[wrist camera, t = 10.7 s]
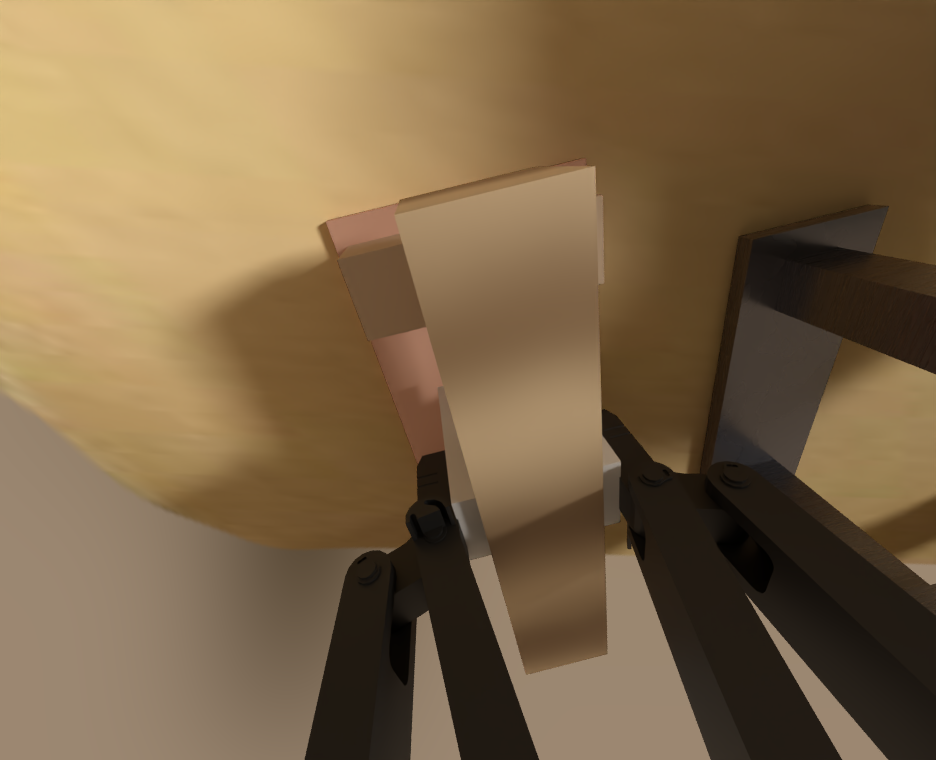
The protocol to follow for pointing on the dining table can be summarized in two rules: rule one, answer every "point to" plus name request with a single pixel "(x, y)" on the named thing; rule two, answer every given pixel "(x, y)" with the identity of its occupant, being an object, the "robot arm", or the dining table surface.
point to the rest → (402, 315)
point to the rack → (813, 351)
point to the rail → (524, 387)
